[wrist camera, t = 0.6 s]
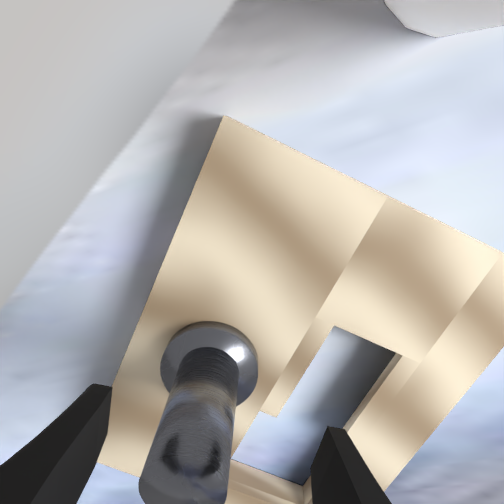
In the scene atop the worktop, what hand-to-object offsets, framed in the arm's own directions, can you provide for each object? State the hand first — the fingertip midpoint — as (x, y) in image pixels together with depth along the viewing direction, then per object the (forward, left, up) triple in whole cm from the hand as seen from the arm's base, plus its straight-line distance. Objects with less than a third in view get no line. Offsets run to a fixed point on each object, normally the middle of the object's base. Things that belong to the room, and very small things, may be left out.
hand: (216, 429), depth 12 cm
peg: (-3, 0, -8) cm, 8 cm away
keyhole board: (-2, -5, -10) cm, 11 cm away
